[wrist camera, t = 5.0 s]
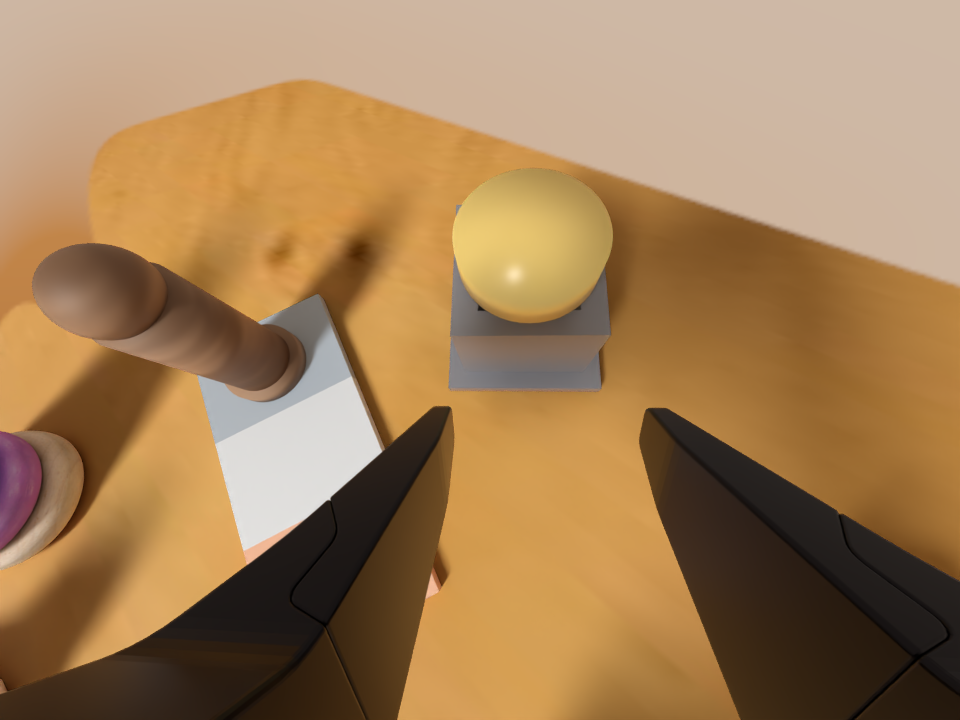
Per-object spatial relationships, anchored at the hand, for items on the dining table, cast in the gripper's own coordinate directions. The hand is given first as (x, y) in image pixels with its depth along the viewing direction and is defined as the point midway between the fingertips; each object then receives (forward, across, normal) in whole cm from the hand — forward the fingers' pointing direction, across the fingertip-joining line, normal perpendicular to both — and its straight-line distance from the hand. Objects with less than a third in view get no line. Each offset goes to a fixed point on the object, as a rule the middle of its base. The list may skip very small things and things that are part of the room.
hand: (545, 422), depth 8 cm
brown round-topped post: (+13, +16, +5) cm, 21 cm away
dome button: (+14, 0, +2) cm, 14 cm away
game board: (+9, +13, +10) cm, 19 cm away
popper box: (+15, 0, +4) cm, 16 cm away
